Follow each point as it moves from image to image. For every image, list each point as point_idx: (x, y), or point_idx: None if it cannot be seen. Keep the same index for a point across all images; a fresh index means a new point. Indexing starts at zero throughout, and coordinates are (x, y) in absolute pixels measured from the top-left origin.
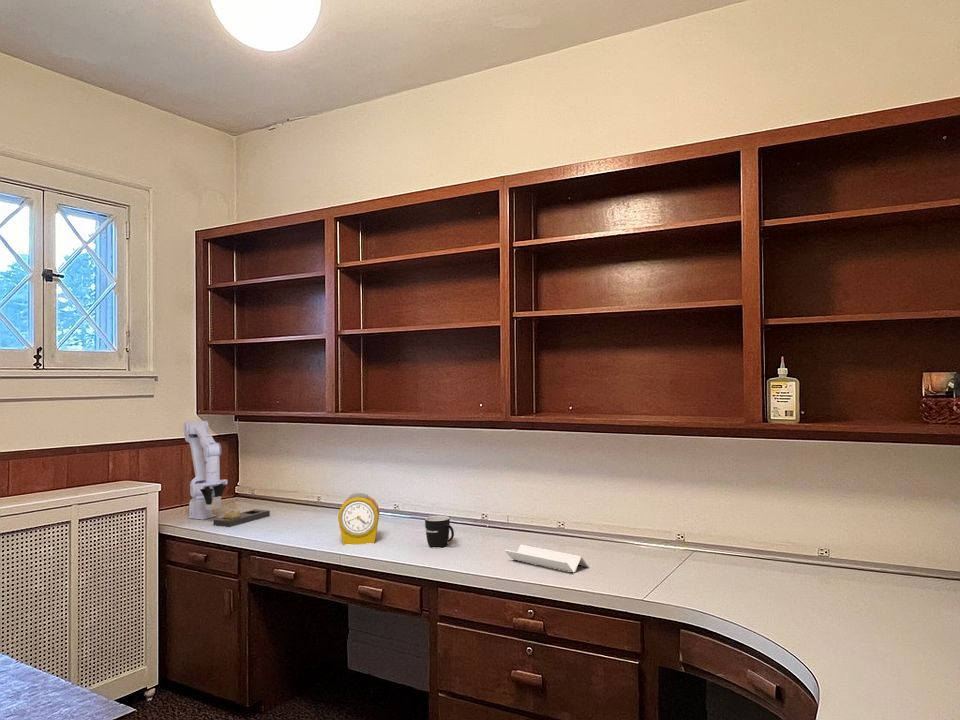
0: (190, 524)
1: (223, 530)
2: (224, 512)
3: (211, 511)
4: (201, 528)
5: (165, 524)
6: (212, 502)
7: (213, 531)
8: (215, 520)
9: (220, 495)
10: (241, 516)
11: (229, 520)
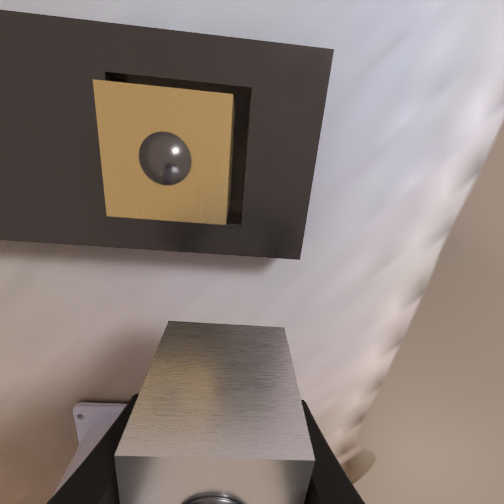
0: (304, 384)
1: (446, 12)
2: (226, 217)
3: (90, 444)
4: (394, 252)
5: None
6: (297, 399)
7: (486, 81)
8: (301, 235)
9: (94, 489)
10: (93, 93)
11: (296, 78)
